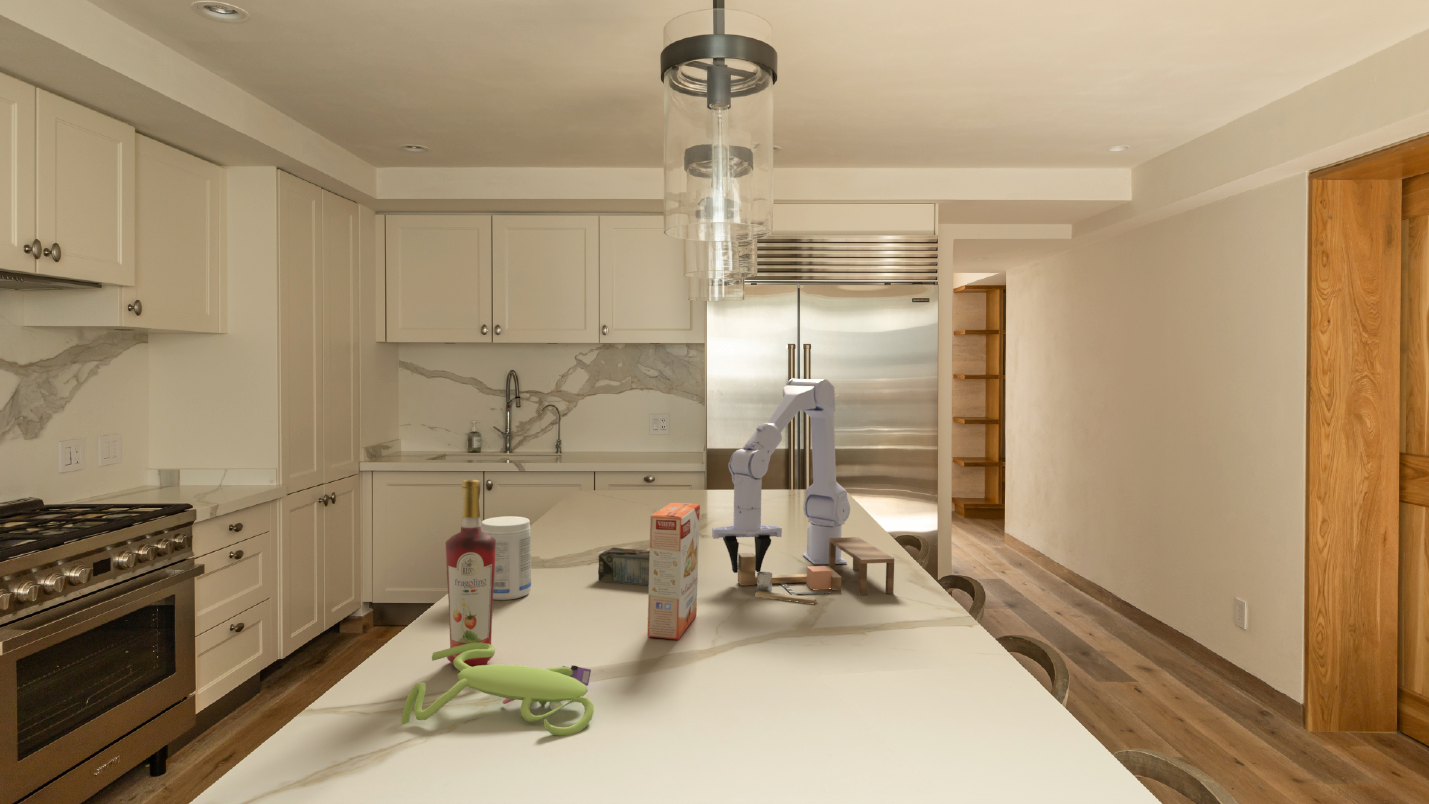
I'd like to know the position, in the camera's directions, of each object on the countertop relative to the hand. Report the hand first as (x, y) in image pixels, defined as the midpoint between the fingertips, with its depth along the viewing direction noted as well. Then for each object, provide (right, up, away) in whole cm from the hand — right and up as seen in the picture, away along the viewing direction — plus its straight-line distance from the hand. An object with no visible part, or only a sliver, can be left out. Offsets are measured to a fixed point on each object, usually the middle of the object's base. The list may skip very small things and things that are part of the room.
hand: (746, 571), depth 171 cm
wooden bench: (+24, -3, +4) cm, 25 cm away
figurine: (-36, -6, -60) cm, 70 cm away
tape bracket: (+12, -3, -1) cm, 12 cm away
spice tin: (+3, -3, -6) cm, 8 cm away
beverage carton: (-21, -3, +2) cm, 21 cm away
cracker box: (-14, -4, -28) cm, 31 cm away
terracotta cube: (+15, -3, -1) cm, 15 cm away
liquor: (-44, -5, -47) cm, 64 cm away
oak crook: (+9, -3, -1) cm, 9 cm away
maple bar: (+7, -4, -10) cm, 13 cm away
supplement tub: (-48, -3, -10) cm, 49 cm away
